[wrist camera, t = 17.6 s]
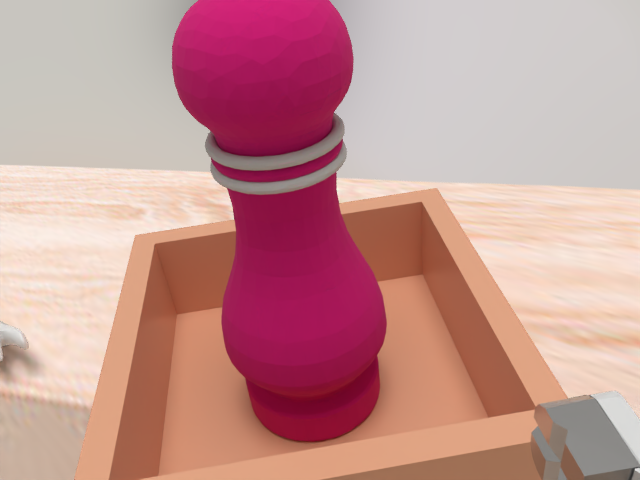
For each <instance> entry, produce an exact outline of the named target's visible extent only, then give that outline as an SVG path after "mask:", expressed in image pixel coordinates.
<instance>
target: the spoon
mask: <svg viewBox="0 0 640 480" xmlns="http://www.w3.org/2000/svg"><path fill="white" fill-rule="evenodd" d="M6 345H16V346H18V347H20V348H23V349H28V342H27V339H26V337H25V335H24V334H23V333H22V332H21V330H19V329H18V328H16V327H12V326H10V325H7V324H5V323H3V322H1V321H0V361H3V352H2V347H3V346H6Z"/></svg>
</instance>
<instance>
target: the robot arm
mask: <svg viewBox="0 0 640 480" xmlns="http://www.w3.org/2000/svg"><path fill="white" fill-rule="evenodd" d="M534 419H535V421H536V423H537V425H538V426H537V427H536V428H535V429H534V430H533V431H532V432H531V442H530V446H531V451H532V457H533V461H534V464H535V466H536V469H537V471H538V473H539V476H540V478H541V480H640V419H639V418H638V416H637V415H636V414H635V412H634V411H633V410H632V408H631V407H630V405H629V404H628V403H627V401H626V400H625V399H624V397H623V396H622V395H621V394H620V393H618V392H617V391H609V392H604V393H598V394H593V395H589V396H588V395H583V396H578V397H573V398H568V399H562V400H557V401H552V402H547V403H542V404H538V405H537V406H536V408H535V412H534Z"/></svg>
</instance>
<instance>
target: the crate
mask: <svg viewBox="0 0 640 480" xmlns="http://www.w3.org/2000/svg"><path fill="white" fill-rule="evenodd" d="M339 206H340V211H341V214H342V217H343V220H344V222H345V225H346V228H347V230H348V232H349V234H350V236H351V237H352V239H353V241H354V243H355V244H356V246H357V247H358V249H359V250H360V252H361V254H362V255H363V257H364V258H365V260H366V261H367V263H368V265H369V266H370V268H371V269H372V271H373V273H374V275H375V278H376V280H377V282H378V285H379V287H380V290H381V293H382V295H383V300H384V306H385V312H386V319H387V328H386V335H385V339H384V343H383V345H382V347H381V349H380V351H379V353H378V355H377V356H378V362H379V377H380V392H379V397H378V400H377V402H376V404H375V407H374V408H373V410H372V411H371V413H370V414H369V415H368V417H367V418H366V419H365V420H364V421H362V422H361V423H360V424H359V425H358V426H356V427H355V428H354V429H352V430H350V431H348V432H346V433H344V434H342V435H340V436H338V437H336V438H331V439H326V440H321V441H315V442H311V441H296V440H292V439H289V438H285V437H282V436H279V435H277V434H275V433H274V432H272V431H271V430H269V429H268V428H266V427H265V426H264V425H263V424H262V423H261V421H260V420H259V419H258V418H257V416H256V415H255V413H254V411H253V408H252V405H251V401H250V397H249V393H248V389H247V385H246V380H245V377H244V376H243V375H242V374H241V373H240V372H239V371H238V370H237V369H236V368H235V366H234V365H233V364H232V362H231V360H230V358H229V356H228V354H227V352H226V348H225V344H224V338H223V331H222V325H221V316H222V306H223V297H224V293H225V290H226V286H227V283H228V280H229V276H230V273H231V269H232V265H233V261H234V257H235V245H236V228H235V220H230V221H223V222H217V223H210V224H204V225H198V226H191V227H185V228H179V229H172V230H166V231H159V232H153V233H147V234H140V235H135V238H134V242H133V246H132V250H131V254H130V258H129V262H128V266H127V270H126V274H125V278H124V282H123V286H122V290H121V294H120V298H119V302H118V306H117V310H116V314H115V318H114V322H113V326H112V330H111V334H110V338H109V342H108V346H107V350H106V354H105V358H104V362H103V366H102V370H101V374H100V378H99V382H98V386H97V390H96V394H95V398H94V402H93V406H92V410H91V414H90V418H89V422H88V426H87V430H86V434H85V438H84V442H83V446H82V450H81V454H80V458H79V462H78V466H77V470H76V474H75V478H74V480H541V478H540V476H539V473H538V471H537V469H536V466H535V464H534V461H533V457H532V451H531V446H530V442H531V432H532V431H533V430H534V429H535V428H536V427H537V426H538V425H537V423H536V421H535V419H534V412H535V408H536V406H537V405H538V404H542V403H547V402H552V401H557V400H562V399H568V397H567V396H566V394H565V393H564V391H563V389H562V388H561V386H560V385H559V383H558V381H557V380H556V378H555V377H554V375H553V373H552V372H551V370H550V369H549V367H548V365H547V364H546V362H545V361H544V359H543V357H542V356H541V354H540V353H539V351H538V349H537V348H536V346H535V345H534V343H533V341H532V340H531V338H530V337H529V335H528V333H527V332H526V330H525V329H524V327H523V325H522V324H521V322H520V321H519V319H518V317H517V316H516V314H515V313H514V311H513V309H512V308H511V306H510V305H509V303H508V301H507V300H506V298H505V297H504V295H503V293H502V292H501V290H500V289H499V287H498V285H497V284H496V282H495V281H494V279H493V277H492V276H491V274H490V273H489V271H488V269H487V268H486V266H485V265H484V263H483V261H482V260H481V258H480V256H479V255H478V253H477V252H476V250H475V248H474V247H473V245H472V244H471V242H470V240H469V239H468V237H467V236H466V234H465V232H464V231H463V229H462V228H461V226H460V224H459V223H458V221H457V220H456V218H455V216H454V215H453V213H452V212H451V210H450V208H449V207H448V205H447V204H446V202H445V200H444V199H443V197H442V196H441V194H440V192H439V191H438V189H437V188H434V189H428V190H421V191H415V192H408V193H402V194H396V195H389V196H383V197H377V198H370V199H364V200H357V201H351V202H345V203H339Z"/></svg>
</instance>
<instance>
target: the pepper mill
mask: <svg viewBox="0 0 640 480" xmlns="http://www.w3.org/2000/svg"><path fill="white" fill-rule="evenodd" d="M172 69H173V76H174V82H175V86H176V89H177V91H178V95H179V97H180V99H181V101H182V103H183V105H184V106H185V108H186V109H187V110H188V111H189V113H190V114H191V115H192V116H193V117H194V118H195V119H196V120H197V121H198V122H200V123H201V124H203V125H204V126H206V127H207V128H208V129H209V130H210V131H211V132H210V133H209V134H208V137H207V139H206V142H205V148H206V152H207V153H208V155H209V156H210V157H211V160H212V161H211V173H212V175H213V177H214V179H215V180H216V181H217V182H218V183H219V184H221V185H222V186H224V187H226V188H227V189H228V192H229V196H230V199H231V202H232V206H233V213H234V220H235V228H236V245H235V257H234V261H233V265H232V269H231V273H230V276H229V280H228V283H227V286H226V290H225V293H224V297H223V306H222V316H221V325H222V331H223V338H224V344H225V348H226V352H227V354H228V356H229V358H230V360H231V362H232V364H233V365H234V366H235V368H236V369H237V370H238V371H239V372H240V373H241V374H242V375H243V376H244V377H245V380H246V385H247V389H248V393H249V397H250V401H251V405H252V408H253V411H254V413H255V415H256V416H257V418H258V419H259V420H260V421H261V423H262V424H263V425H264V426H265V427H266V428H268V429H269V430H271V431H272V432H274V433H275V434H277V435H279V436H282V437H285V438H289V439H292V440H296V441H311V442H315V441H321V440H326V439H331V438H336V437H338V436H340V435H342V434H344V433H346V432H348V431H350V430H352V429H354V428H355V427H356V426H358V425H359V424H360V423H361V422H362V421H364V420H365V419H366V418H367V417H368V415H369V414H370V413H371V411H372V410H373V408H374V407H375V404H376V402H377V400H378V397H379V392H380V377H379V362H378V356H377V355H378V353H379V351H380V349H381V347H382V345H383V343H384V339H385V335H386V328H387V319H386V312H385V306H384V300H383V295H382V293H381V290H380V287H379V285H378V282H377V280H376V278H375V275H374V273H373V271H372V269H371V268H370V266H369V265H368V263H367V261H366V260H365V258H364V257H363V255H362V254H361V252H360V250H359V249H358V247H357V246H356V244H355V243H354V241H353V239H352V237H351V236H350V234H349V232H348V230H347V228H346V225H345V222H344V220H343V217H342V214H341V211H340V206H339V201H338V196H337V191H336V171H338V170H339V168H340V167H341V166H342V165H343V163H344V161H345V159H346V147H345V144H344V142H343V139H342V138H343V135H344V124H343V121H342V119H341V118H340V117H339V116H338V115H336V114H335V113H334V111H335V110H336V108H337V107H338V105H339V104H340V103H341V101H342V100H343V98H344V97H345V94H346V93H347V91H348V89H349V86H350V83H351V79H352V73H353V52H352V45H351V40H350V37H349V34H348V31H347V28H346V25H345V23H344V21H343V19H342V17H341V16H340V14H339V12H338V11H337V10H336V8H335V7H334V6H333V5H332V4H331V2H330V1H329V0H198V1H197V2H196V3H195V4H194V5H193V6H191V7H190V9H189V10H188V11H187V12H186V13H185V15H184V17H183V19H182V20H181V22H180V24H179V26H178V29H177V31H176V33H175V37H174V41H173V46H172Z"/></svg>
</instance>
